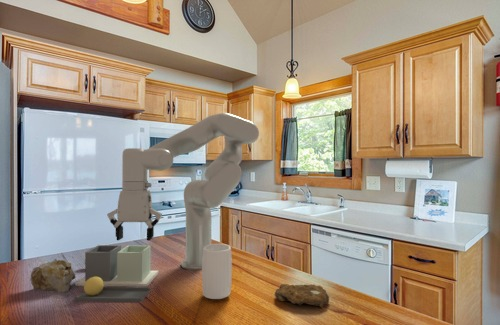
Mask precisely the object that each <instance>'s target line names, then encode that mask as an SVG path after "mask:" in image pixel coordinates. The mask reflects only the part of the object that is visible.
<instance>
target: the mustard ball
mask: <svg viewBox="0 0 500 325" xmlns="http://www.w3.org/2000/svg"><path fill="white" fill-rule="evenodd" d="M103 287H105V286H104V282H103V280H102V279H101V278H99V277H92V278H90V279H88V280H87V281H86V283H85V285H84V286H83V292H84V291H85V293H86V294H87V295H90V296H94V295H97V294H99V293H100V292H101V291H102V289H103Z"/></svg>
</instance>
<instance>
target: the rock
mask: <svg viewBox="0 0 500 325" xmlns="http://www.w3.org/2000/svg"><path fill="white" fill-rule="evenodd" d="M76 278H77V276H76V273H75V271H74V269H73V266H72V263H71V262H68V261H67V260H64V259H61V260H60V259H56V258H54V260H52V261H48V262H45V263H42V264H39V265H38V266H35V267H34V268H32V271H31V272H30V278H29V279H30V280H29V281H30V284H31V285H32V288H33V289H35V290H44V291H47V290H49V291H52V290H55V291H56V292H58V293H65V292H68V291H69V290H70V287H71V283H72V281H73V280H75V279H76Z"/></svg>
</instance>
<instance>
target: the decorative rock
mask: <svg viewBox="0 0 500 325" xmlns="http://www.w3.org/2000/svg"><path fill="white" fill-rule="evenodd" d="M273 295H274V296H275V298H277V300H279V301H280V302H284V301H288V302H291V303H292V304H293V305H296V304H298V305H299V306H302V304H306V305H313V306H315V307H316V306H317V307H319V306H320V307H321V309H323V308H324V306H325V305H329V304H328V303H329V302H330V296H329V295H328V293H327V290H326V289H324V287H323V286H321V285H316V284H295V285H294V284H289V283H282V284H280V285H279V288H276V290H275V292H274V294H273Z"/></svg>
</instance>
